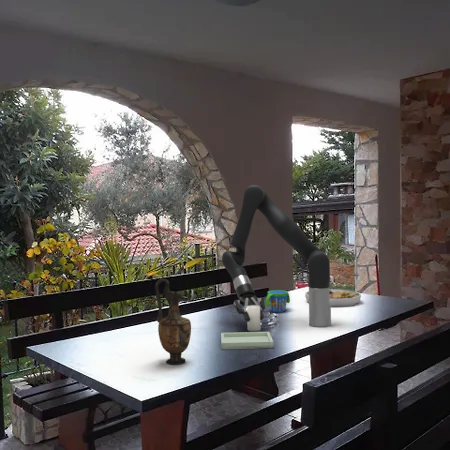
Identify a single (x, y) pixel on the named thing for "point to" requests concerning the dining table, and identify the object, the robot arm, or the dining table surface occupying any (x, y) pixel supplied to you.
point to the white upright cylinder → (253, 318)
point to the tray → (246, 340)
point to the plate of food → (341, 297)
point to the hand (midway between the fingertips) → (255, 319)
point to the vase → (172, 326)
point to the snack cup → (277, 300)
